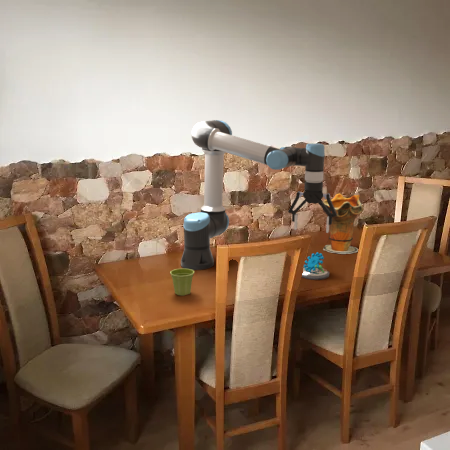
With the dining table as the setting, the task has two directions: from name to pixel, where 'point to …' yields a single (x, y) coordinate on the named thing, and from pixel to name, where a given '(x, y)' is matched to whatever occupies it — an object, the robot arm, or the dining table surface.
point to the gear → (314, 262)
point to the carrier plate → (315, 274)
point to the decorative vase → (343, 223)
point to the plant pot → (182, 280)
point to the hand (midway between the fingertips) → (311, 230)
